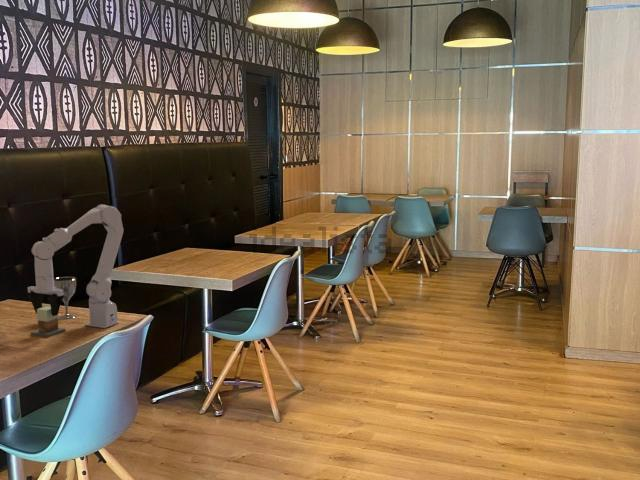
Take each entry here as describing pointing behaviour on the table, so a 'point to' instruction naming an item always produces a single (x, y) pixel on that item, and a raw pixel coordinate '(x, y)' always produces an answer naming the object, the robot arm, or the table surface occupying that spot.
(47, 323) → the walnut block
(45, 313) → the sage cube
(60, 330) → the slate board
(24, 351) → the table surface
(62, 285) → the wine glass
